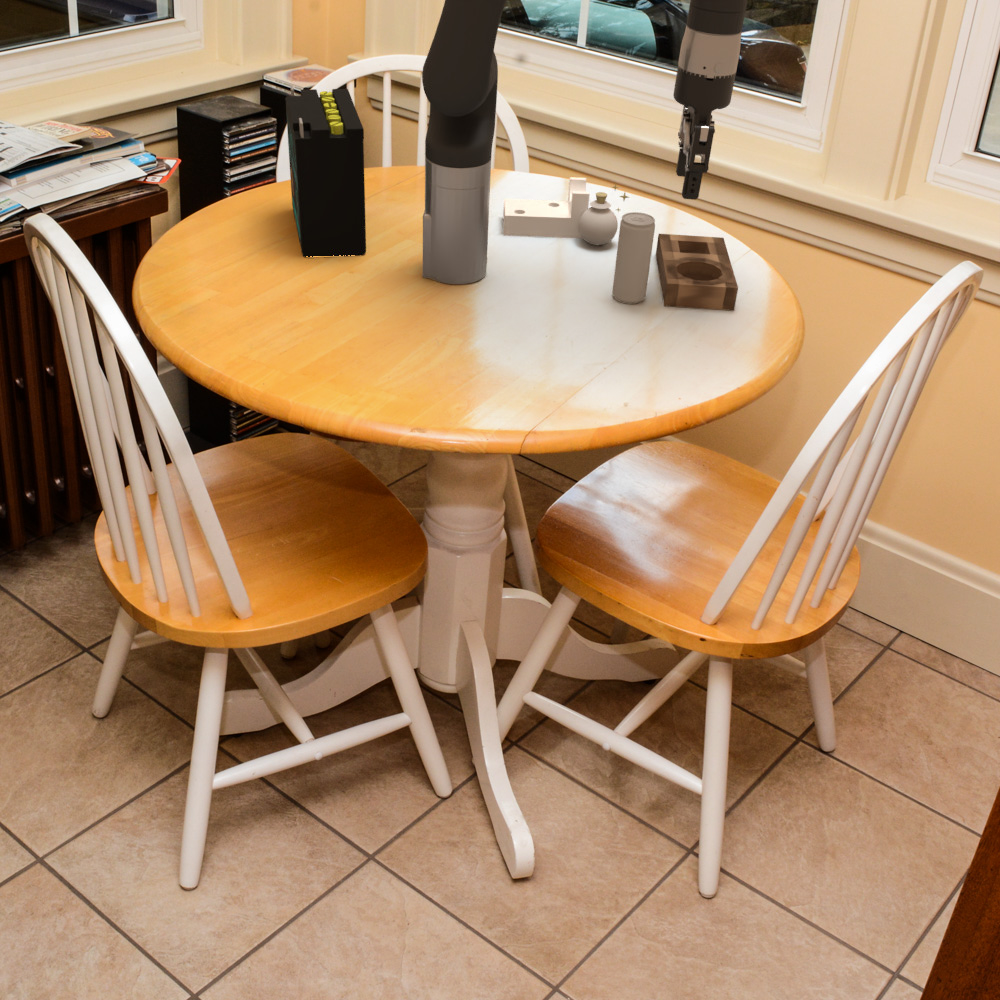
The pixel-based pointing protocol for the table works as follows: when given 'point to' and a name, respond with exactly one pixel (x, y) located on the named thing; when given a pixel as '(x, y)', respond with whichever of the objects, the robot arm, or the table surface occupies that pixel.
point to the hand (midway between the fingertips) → (686, 186)
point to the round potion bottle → (599, 221)
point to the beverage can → (633, 257)
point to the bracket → (547, 214)
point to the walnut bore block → (695, 272)
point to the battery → (327, 172)
